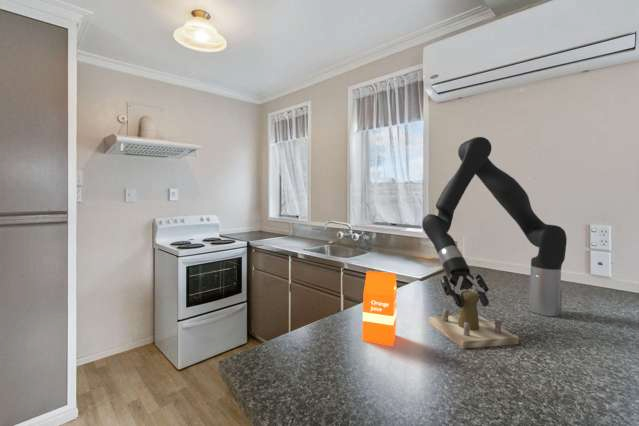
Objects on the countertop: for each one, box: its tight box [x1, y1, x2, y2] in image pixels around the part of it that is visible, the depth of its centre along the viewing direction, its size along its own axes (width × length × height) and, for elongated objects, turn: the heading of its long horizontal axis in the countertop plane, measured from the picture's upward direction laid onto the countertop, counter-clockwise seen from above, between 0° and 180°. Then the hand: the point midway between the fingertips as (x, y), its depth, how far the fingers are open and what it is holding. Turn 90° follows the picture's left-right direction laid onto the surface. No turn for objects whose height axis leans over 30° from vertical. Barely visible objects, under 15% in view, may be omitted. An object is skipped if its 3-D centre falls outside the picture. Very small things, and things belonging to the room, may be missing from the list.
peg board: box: [428, 308, 520, 350], centre depth 96 cm, size 18×18×6 cm
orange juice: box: [362, 270, 398, 347], centre depth 91 cm, size 8×9×20 cm
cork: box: [458, 290, 480, 330], centre depth 96 cm, size 6×6×11 cm
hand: (474, 306), depth 95 cm, fingers open, 8 cm apart
